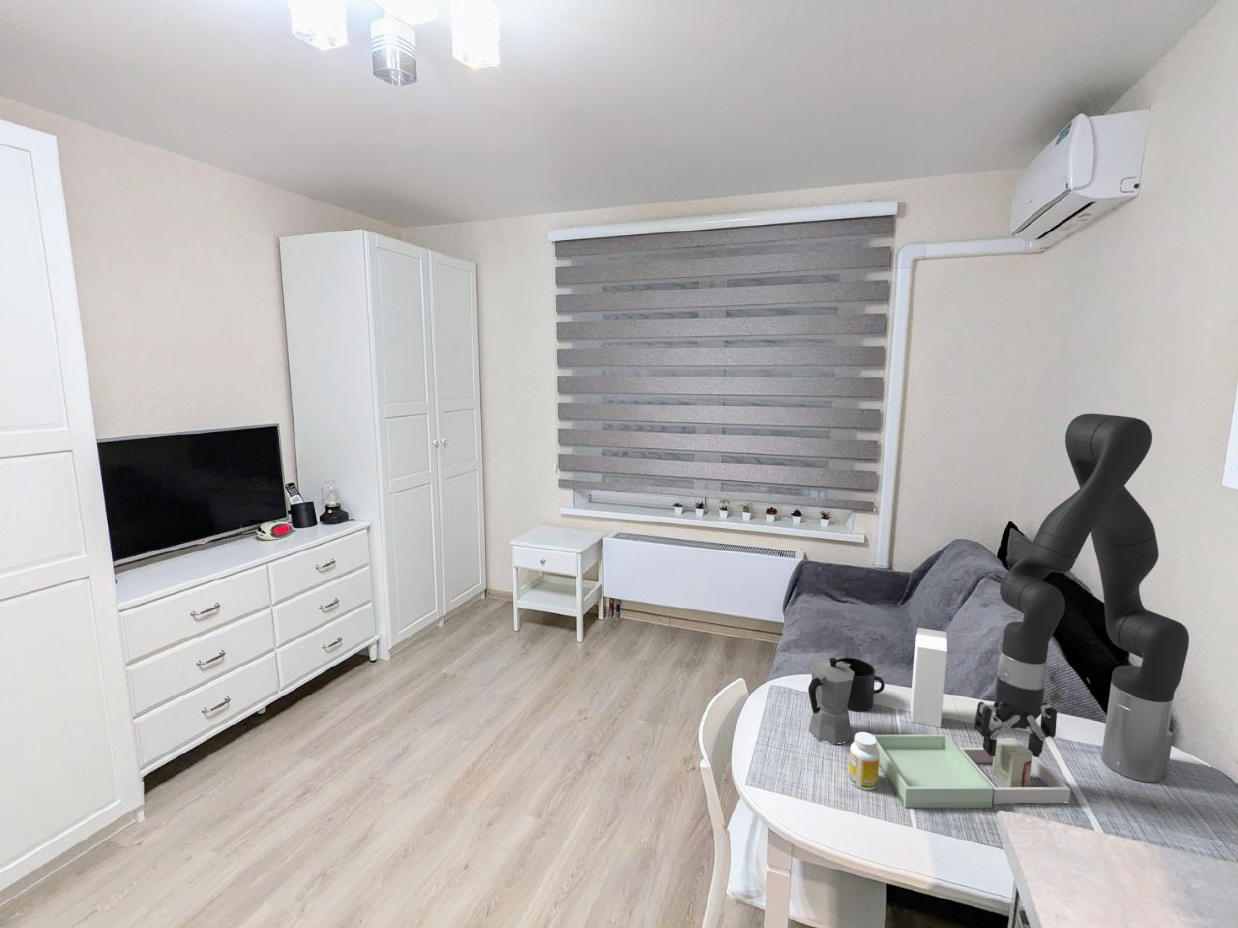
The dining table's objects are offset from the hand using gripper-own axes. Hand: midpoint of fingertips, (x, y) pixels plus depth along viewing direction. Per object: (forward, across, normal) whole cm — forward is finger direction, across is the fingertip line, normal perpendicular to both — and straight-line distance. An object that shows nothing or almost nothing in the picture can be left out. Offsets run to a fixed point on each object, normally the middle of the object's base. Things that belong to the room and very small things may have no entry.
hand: (1011, 753), depth 112 cm
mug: (+7, +18, -28) cm, 34 cm away
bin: (+6, +15, -1) cm, 17 cm away
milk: (+6, +5, -21) cm, 23 cm away
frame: (+6, -1, 0) cm, 6 cm away
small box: (+6, -1, 0) cm, 6 cm away
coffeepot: (+7, +30, -15) cm, 35 cm away
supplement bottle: (+7, +28, 0) cm, 29 cm away
